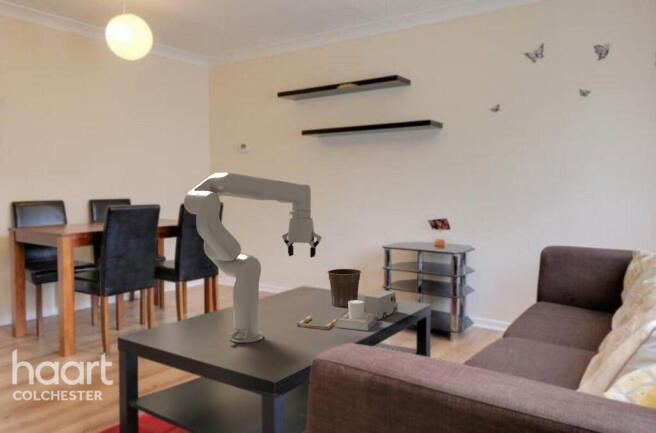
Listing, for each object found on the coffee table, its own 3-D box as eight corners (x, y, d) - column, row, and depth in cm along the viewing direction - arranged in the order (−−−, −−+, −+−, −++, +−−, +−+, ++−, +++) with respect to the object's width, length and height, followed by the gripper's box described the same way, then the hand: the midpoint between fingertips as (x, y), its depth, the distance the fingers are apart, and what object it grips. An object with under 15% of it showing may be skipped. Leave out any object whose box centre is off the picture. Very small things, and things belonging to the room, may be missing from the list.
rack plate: (367, 330, 191) (367, 321, 190) (334, 327, 196) (334, 318, 196) (377, 321, 204) (377, 312, 203) (345, 318, 209) (346, 309, 209)
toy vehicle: (399, 312, 218) (399, 290, 218) (379, 321, 204) (379, 298, 203) (382, 309, 224) (382, 288, 223) (362, 318, 209) (362, 295, 209)
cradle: (326, 329, 192) (326, 326, 192) (297, 326, 197) (297, 323, 197) (337, 321, 203) (337, 319, 203) (309, 318, 208) (309, 316, 208)
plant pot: (320, 304, 234) (320, 271, 233) (344, 298, 245) (344, 267, 244) (343, 310, 222) (344, 275, 221) (368, 304, 233) (368, 271, 232)
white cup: (354, 321, 195) (354, 304, 194) (344, 317, 200) (344, 301, 200) (367, 318, 199) (367, 302, 198) (357, 315, 204) (357, 299, 204)
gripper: (278, 214, 197) (278, 256, 198) (317, 215, 190) (317, 258, 191) (286, 213, 204) (286, 254, 205) (324, 214, 197) (324, 256, 198)
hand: (301, 256), depth 198 cm, fingers open, 9 cm apart
